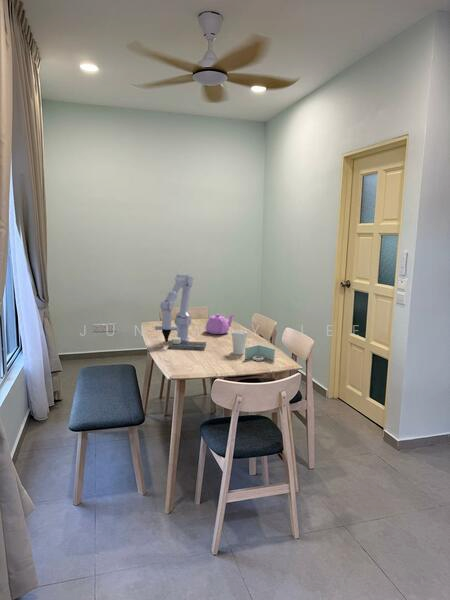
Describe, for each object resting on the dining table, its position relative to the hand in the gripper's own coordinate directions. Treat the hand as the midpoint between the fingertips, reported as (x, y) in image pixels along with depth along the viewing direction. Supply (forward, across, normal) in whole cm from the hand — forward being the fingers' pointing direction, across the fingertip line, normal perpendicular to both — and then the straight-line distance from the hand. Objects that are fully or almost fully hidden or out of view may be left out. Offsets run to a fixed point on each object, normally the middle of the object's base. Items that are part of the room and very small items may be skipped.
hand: (166, 341), depth 258 cm
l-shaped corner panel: (+4, +58, -21) cm, 62 cm away
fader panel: (+3, +14, 0) cm, 14 cm away
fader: (+1, +7, 0) cm, 7 cm away
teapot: (+3, +32, +44) cm, 54 cm away
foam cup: (+3, +46, -8) cm, 46 cm away
